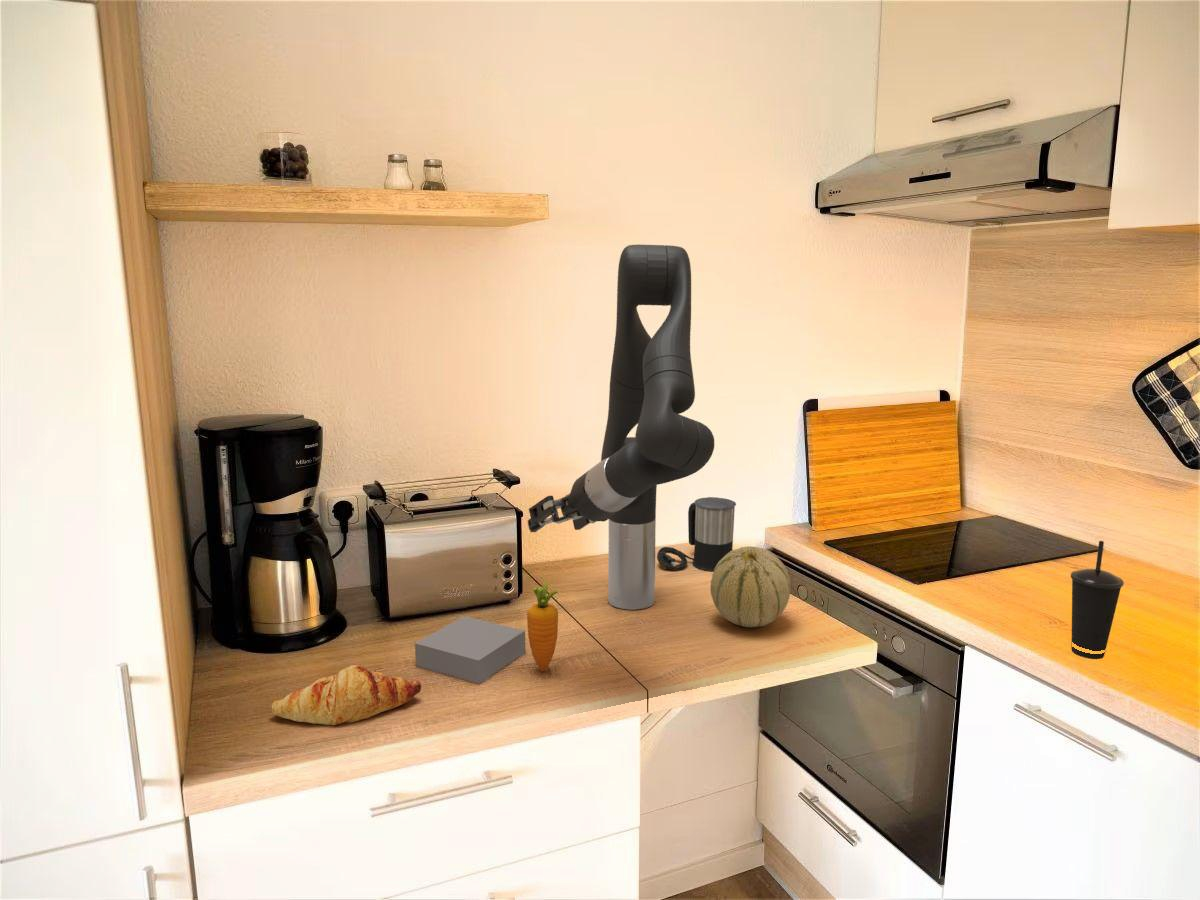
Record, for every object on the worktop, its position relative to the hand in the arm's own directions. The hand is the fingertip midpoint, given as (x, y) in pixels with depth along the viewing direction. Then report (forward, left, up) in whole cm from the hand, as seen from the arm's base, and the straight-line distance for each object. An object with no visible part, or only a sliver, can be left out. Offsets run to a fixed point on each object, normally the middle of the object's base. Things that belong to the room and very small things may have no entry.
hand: (553, 525), depth 132 cm
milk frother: (-55, +3, -24) cm, 60 cm away
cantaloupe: (-30, +24, -23) cm, 45 cm away
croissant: (+29, -18, -24) cm, 42 cm away
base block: (+7, -12, -23) cm, 27 cm away
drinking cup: (-46, +79, -23) cm, 94 cm away
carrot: (+5, +1, -23) cm, 24 cm away
